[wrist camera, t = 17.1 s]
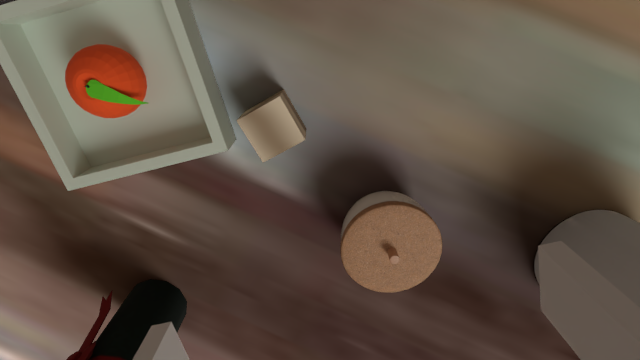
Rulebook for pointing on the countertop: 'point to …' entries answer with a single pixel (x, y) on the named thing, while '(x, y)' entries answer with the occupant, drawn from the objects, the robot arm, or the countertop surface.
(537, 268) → the utensil holder
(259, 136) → the wood block
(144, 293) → the wine bottle
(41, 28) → the sage tray
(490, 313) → the countertop surface
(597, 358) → the robot arm
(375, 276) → the lidded jar
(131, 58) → the clementine
